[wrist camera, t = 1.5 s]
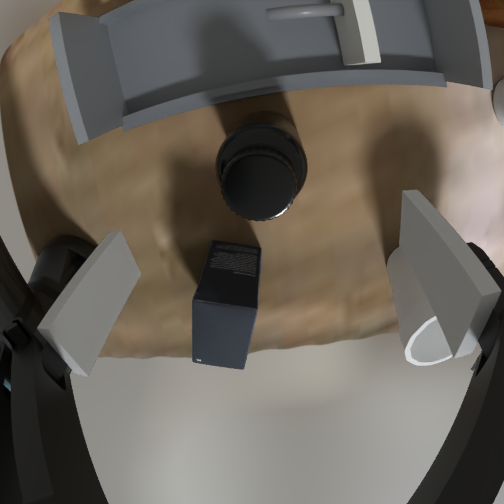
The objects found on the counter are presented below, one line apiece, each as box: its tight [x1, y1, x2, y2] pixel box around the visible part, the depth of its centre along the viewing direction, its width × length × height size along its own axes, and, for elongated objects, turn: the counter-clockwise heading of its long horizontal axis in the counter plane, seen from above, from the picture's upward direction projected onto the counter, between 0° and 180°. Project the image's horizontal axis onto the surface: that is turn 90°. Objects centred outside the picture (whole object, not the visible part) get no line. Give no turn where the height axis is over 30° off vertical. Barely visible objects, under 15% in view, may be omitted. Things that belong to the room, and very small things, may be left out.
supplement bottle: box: [215, 111, 308, 221], centre depth 23 cm, size 7×7×12 cm
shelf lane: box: [49, 0, 493, 145], centre depth 17 cm, size 34×14×9 cm, turn 101°
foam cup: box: [386, 246, 453, 365], centre depth 29 cm, size 10×9×13 cm
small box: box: [192, 240, 261, 370], centre depth 33 cm, size 11×6×10 cm, turn 172°
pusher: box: [266, 0, 381, 65], centre depth 16 cm, size 7×10×7 cm
